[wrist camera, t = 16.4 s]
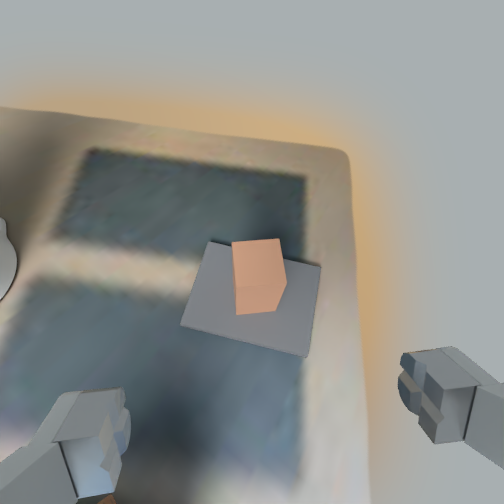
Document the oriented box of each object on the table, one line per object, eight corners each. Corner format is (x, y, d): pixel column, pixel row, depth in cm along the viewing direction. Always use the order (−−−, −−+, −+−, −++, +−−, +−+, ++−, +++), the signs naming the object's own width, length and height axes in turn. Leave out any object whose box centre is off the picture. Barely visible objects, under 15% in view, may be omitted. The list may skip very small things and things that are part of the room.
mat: (181, 326, 39) (179, 324, 38) (209, 244, 44) (208, 241, 43) (306, 357, 38) (307, 356, 37) (319, 270, 43) (320, 267, 42)
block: (236, 315, 39) (236, 287, 30) (232, 278, 41) (231, 242, 32) (275, 311, 39) (287, 282, 30) (269, 274, 41) (279, 238, 32)
